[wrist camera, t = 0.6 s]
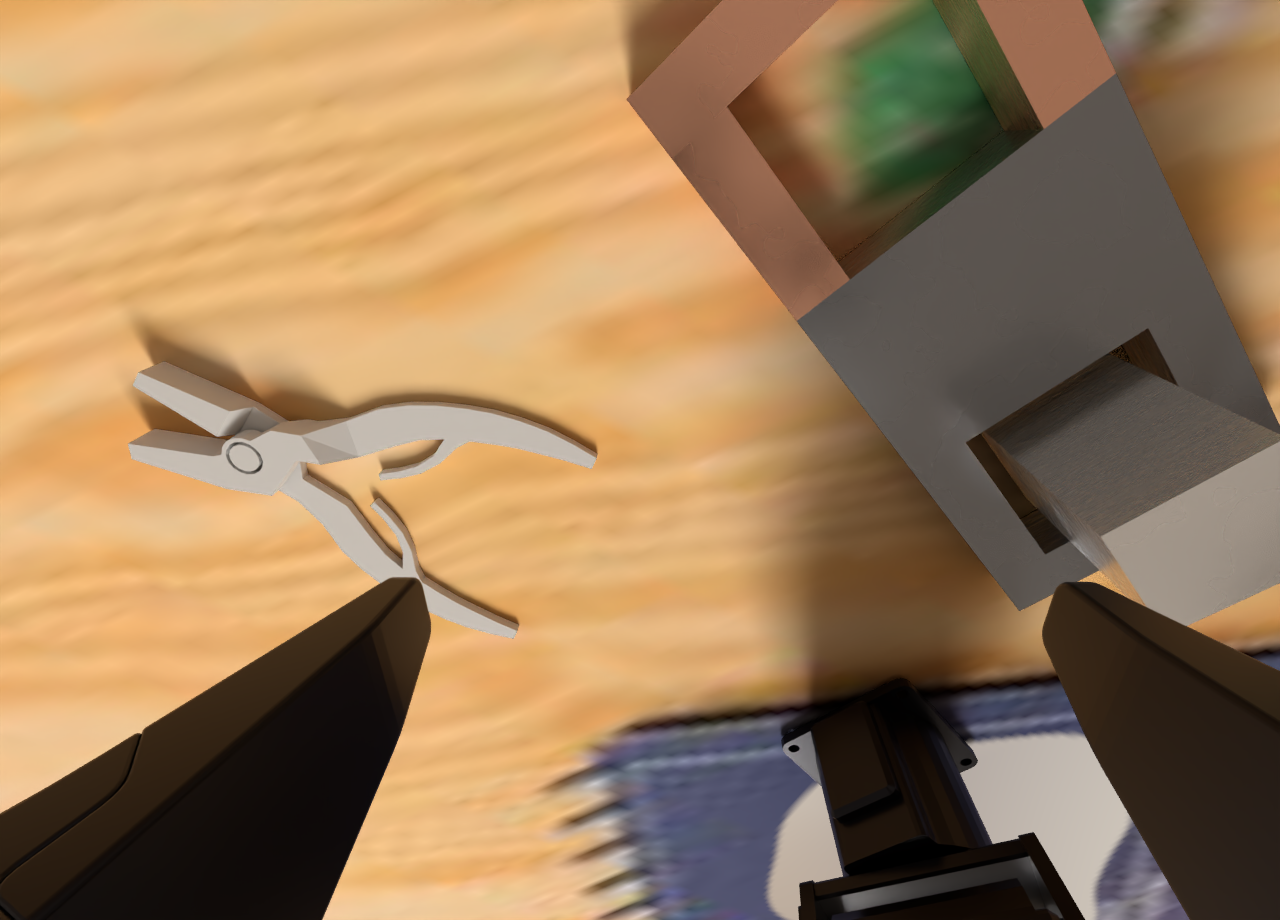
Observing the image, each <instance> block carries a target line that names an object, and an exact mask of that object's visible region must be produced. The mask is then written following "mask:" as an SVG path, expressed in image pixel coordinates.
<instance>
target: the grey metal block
mask: <svg viewBox="0 0 1280 920" xmlns="http://www.w3.org/2000/svg"><path fill="white" fill-rule="evenodd" d="M981 434H982V436H983V437H984V438H985V440H986V441H987V443H988V444H989V446H990V447H991V449H992V450H993V451H994V453H995V454H996V456H997V457H998V459H999V460H1000V461H1001V463H1002V464H1003V466H1004V467H1005V469H1006V470H1007V472H1008V473H1009V474H1010V476H1011V477H1012V479H1013V480H1014V482H1015V483H1016V485H1017V486H1018V487H1019V489H1020V490H1021V492H1022V493H1023V495H1024V496H1025V497H1026V498H1027V499H1028V500H1029V501H1030V502H1031V503H1032V504H1033V505H1034V506H1035V507H1036V508H1037V509H1038V510H1039V511H1040V512H1041V513H1042V514H1043V515H1044V516H1045V517H1046V518H1047V519H1048V520H1049V521H1050V522H1051V523H1052V524H1053V525H1054V526H1055V527H1056V528H1057V529H1058V530H1059V531H1060V532H1061V533H1062V534H1063V535H1064V536H1065V537H1066V538H1067V539H1068V540H1069V541H1070V542H1071V543H1072V544H1073V545H1074V546H1075V547H1076V548H1077V549H1078V550H1079V551H1080V552H1081V553H1082V554H1083V555H1084V556H1086V557H1087V558H1088V559H1089V560H1090V561H1091V562H1092V563H1093V564H1094V565H1095V566H1096V567H1097V568H1098V569H1099V570H1100V571H1101V572H1102V573H1103V574H1104V575H1105V576H1106V577H1107V578H1108V579H1109V580H1110V581H1111V582H1112V583H1113V584H1114V585H1115V586H1116V587H1117V588H1118V589H1119V590H1120V591H1121V592H1122V593H1123V594H1124V595H1125V596H1126V597H1127V598H1129V599H1131V600H1133V601H1135V602H1137V603H1139V604H1141V605H1143V606H1145V607H1148V608H1150V609H1152V610H1154V611H1156V612H1158V613H1160V614H1162V615H1164V616H1166V617H1168V618H1170V619H1173V620H1175V621H1177V622H1179V623H1181V624H1183V625H1185V626H1188V625H1190V624H1192V623H1194V622H1196V621H1199V620H1201V619H1203V618H1205V617H1207V616H1209V615H1212V614H1214V613H1216V612H1218V611H1220V610H1222V609H1225V608H1227V607H1229V606H1231V605H1233V604H1235V603H1238V602H1240V601H1242V600H1244V599H1246V598H1248V597H1251V596H1253V595H1255V594H1257V593H1259V592H1261V591H1264V590H1266V589H1268V588H1270V587H1272V586H1274V585H1277V584H1279V583H1280V434H1278V433H1276V432H1274V431H1271V430H1269V429H1267V428H1265V427H1263V426H1261V425H1259V424H1257V423H1255V422H1252V421H1250V420H1248V419H1246V418H1244V417H1242V416H1240V415H1238V414H1236V413H1233V412H1231V411H1229V410H1227V409H1225V408H1223V407H1221V406H1219V405H1217V404H1215V403H1212V402H1210V401H1208V400H1206V399H1204V398H1202V397H1200V396H1198V395H1196V394H1193V393H1191V392H1189V391H1187V390H1185V389H1183V388H1181V387H1179V386H1177V385H1174V384H1172V383H1170V382H1168V381H1166V380H1164V379H1162V378H1160V377H1158V376H1156V375H1153V374H1151V373H1149V372H1147V371H1145V370H1143V369H1141V368H1139V367H1137V366H1134V365H1132V364H1130V363H1128V362H1126V361H1124V360H1122V359H1120V358H1118V357H1115V356H1113V355H1111V354H1109V353H1108V354H1106V355H1104V356H1103V357H1101V358H1100V359H1098V360H1096V361H1095V362H1093V363H1092V364H1090V365H1088V366H1087V367H1085V368H1084V369H1082V370H1080V371H1079V372H1077V373H1076V374H1074V375H1072V376H1071V377H1069V378H1068V379H1066V380H1065V381H1063V382H1061V383H1060V384H1058V385H1057V386H1055V387H1053V388H1052V389H1050V390H1049V391H1047V392H1045V393H1044V394H1042V395H1041V396H1039V397H1037V398H1036V399H1034V400H1033V401H1031V402H1029V403H1028V404H1026V405H1025V406H1023V407H1022V408H1020V409H1018V410H1017V411H1015V412H1014V413H1012V414H1010V415H1009V416H1007V417H1006V418H1004V419H1002V420H1001V421H999V422H998V423H996V424H994V425H993V426H991V427H990V428H988V429H986V430H985V431H983V432H982V433H981Z"/></svg>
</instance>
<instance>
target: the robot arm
mask: <svg viewBox="0 0 1280 920" xmlns="http://www.w3.org/2000/svg"><path fill="white" fill-rule="evenodd" d="M430 634H431V620H430V615H429V611H428V607H427V602H426V598H425V594H424V589H423V586H422V583H421V582H420V580H419V579H417V578H415V577H392V578H389V579H387V580H385V581H383V582H382V583H380V584H378V585H377V586H375V587H374V588H372V589H370V590H369V591H367V592H365V593H364V594H362V595H361V596H359V597H357V598H356V599H354V600H352V601H351V602H349V603H348V604H346V605H344V606H343V607H341V608H339V609H338V610H336V611H335V612H333V613H331V614H330V615H328V616H326V617H325V618H323V619H322V620H320V621H318V622H317V623H315V624H313V625H312V626H310V627H309V628H307V629H305V630H304V631H302V632H300V633H299V634H297V635H296V636H294V637H292V638H291V639H289V640H287V641H286V642H284V643H283V644H281V645H279V646H278V647H276V648H274V649H273V650H271V651H269V652H268V653H266V654H265V655H263V656H261V657H260V658H258V659H256V660H255V661H253V662H252V663H250V664H248V665H247V666H245V667H243V668H242V669H240V670H239V671H237V672H235V673H234V674H232V675H230V676H229V677H227V678H226V679H224V680H222V681H221V682H219V683H217V684H216V685H214V686H213V687H211V688H209V689H208V690H206V691H204V692H203V693H201V694H200V695H198V696H196V697H195V698H193V699H191V700H190V701H188V702H186V703H185V704H183V705H182V706H180V707H178V708H177V709H175V710H173V711H172V712H170V713H169V714H167V715H165V716H164V717H162V718H160V719H159V720H157V721H156V722H154V723H152V724H151V725H149V726H147V727H146V728H145V729H144V730H143V731H142V734H140V733H136V734H134V735H132V736H131V737H129V738H128V739H126V740H124V741H123V742H121V743H120V744H118V745H116V746H115V747H113V748H112V749H110V750H108V751H107V752H105V753H103V754H102V755H100V756H98V757H97V758H95V759H93V760H92V761H90V762H88V763H87V764H85V765H83V766H82V767H80V768H78V769H77V770H75V771H73V772H72V773H70V774H68V775H67V776H65V777H63V778H62V779H60V780H58V781H57V782H55V783H53V784H52V785H50V786H48V787H47V788H45V789H43V790H41V791H39V792H38V793H36V794H34V795H32V796H31V797H29V798H27V799H25V800H24V801H22V802H20V803H18V804H16V805H15V806H13V807H11V808H9V809H8V810H6V811H4V812H2V813H0V920H322V919H323V917H324V914H325V912H326V910H327V907H328V905H329V903H330V900H331V898H332V895H333V893H334V891H335V888H336V886H337V884H338V881H339V879H340V877H341V874H342V872H343V870H344V867H345V865H346V862H347V860H348V858H349V855H350V853H351V851H352V848H353V846H354V844H355V841H356V839H357V836H358V834H359V832H360V829H361V827H362V825H363V822H364V820H365V818H366V815H367V813H368V810H369V808H370V806H371V803H372V801H373V799H374V796H375V794H376V792H377V789H378V787H379V784H380V782H381V780H382V777H383V775H384V773H385V770H386V768H387V766H388V763H389V761H390V758H391V756H392V754H393V751H394V749H395V746H396V744H397V741H398V739H399V736H400V734H401V731H402V728H403V725H404V722H405V719H406V715H407V712H408V709H409V705H410V702H411V699H412V695H413V692H414V689H415V685H416V682H417V679H418V675H419V672H420V669H421V665H422V662H423V659H424V656H425V652H426V649H427V646H428V642H429V639H430ZM1042 637H1043V642H1044V646H1045V648H1046V651H1047V653H1048V655H1049V657H1050V659H1051V662H1052V664H1053V666H1054V668H1055V670H1056V673H1057V675H1058V677H1059V679H1060V681H1061V684H1062V686H1063V688H1064V690H1065V693H1066V695H1067V697H1068V699H1069V701H1070V704H1071V706H1072V708H1073V710H1074V712H1075V715H1076V717H1077V719H1078V721H1079V723H1080V726H1081V728H1082V730H1083V732H1084V734H1085V736H1086V738H1087V740H1088V742H1089V744H1090V746H1091V748H1092V750H1093V752H1094V754H1095V756H1096V758H1097V759H1098V761H1099V763H1100V765H1101V767H1102V769H1103V770H1104V772H1105V774H1106V776H1107V777H1108V779H1109V781H1110V783H1111V784H1112V786H1113V788H1114V789H1115V791H1116V793H1117V795H1118V796H1119V798H1120V800H1121V801H1122V803H1123V805H1124V807H1125V808H1126V810H1127V812H1128V814H1129V815H1130V817H1131V819H1132V821H1133V822H1134V824H1135V826H1136V827H1137V829H1138V831H1139V833H1140V834H1141V836H1142V838H1143V840H1144V841H1145V843H1146V845H1147V846H1148V848H1149V850H1150V852H1151V853H1152V855H1153V857H1154V859H1155V860H1156V862H1157V864H1158V866H1159V867H1160V869H1161V871H1162V872H1163V874H1164V876H1165V878H1166V879H1167V881H1168V883H1169V885H1170V886H1171V888H1172V890H1173V891H1174V893H1175V895H1176V897H1177V898H1178V900H1179V902H1180V904H1181V905H1182V907H1183V909H1184V910H1185V912H1186V914H1187V916H1188V917H1189V919H1190V920H1280V671H1279V670H1277V669H1275V668H1272V667H1270V666H1268V665H1266V664H1264V663H1262V662H1260V661H1258V660H1256V659H1254V658H1252V657H1250V656H1248V655H1245V654H1243V653H1241V652H1239V651H1237V650H1235V649H1233V648H1231V647H1229V646H1227V645H1225V644H1223V643H1220V642H1218V641H1216V640H1214V639H1212V638H1210V637H1208V636H1206V635H1204V634H1202V633H1200V632H1198V631H1195V630H1193V629H1191V628H1189V627H1187V626H1185V625H1183V624H1181V623H1179V622H1177V621H1175V620H1173V619H1170V618H1168V617H1166V616H1164V615H1162V614H1160V613H1158V612H1156V611H1154V610H1152V609H1150V608H1148V607H1145V606H1143V605H1141V604H1139V603H1137V602H1135V601H1133V600H1131V599H1129V598H1127V597H1125V596H1123V595H1120V594H1118V593H1116V592H1114V591H1112V590H1110V589H1108V588H1106V587H1104V586H1102V585H1100V584H1097V583H1093V582H1064V583H1061V584H1060V585H1059V586H1058V587H1057V588H1056V590H1055V592H1054V595H1053V598H1052V601H1051V604H1050V607H1049V610H1048V613H1047V616H1046V619H1045V622H1044V625H1043V630H1042ZM901 690H902V691H901ZM781 742H782V748H783V751H784V753H785V754H786V755H787V756H788V757H790V758H791V759H792V760H793V761H794V762H795V763H796V764H797V765H798V766H800V767H801V768H802V769H803V770H804V771H805V772H806V773H807V774H808V775H810V776H811V777H812V778H813V779H814V780H815V781H816V782H817V783H818V784H820V785H821V786H822V789H823V794H824V798H825V802H826V806H827V810H828V814H829V819H830V823H831V827H832V831H833V835H834V840H835V844H836V848H837V852H838V856H839V861H840V865H841V868H842V873H843V877H839V878H834V879H830V880H825V881H821V882H816V883H815V882H814V881H813V880H812V881H807V882H803V883H800V885H799V887H800V900H801V906H799V907H798V911H799V920H1085V919H1084V917H1083V915H1082V913H1081V912H1080V910H1079V908H1078V907H1077V905H1076V903H1075V902H1074V900H1073V898H1072V896H1071V895H1070V893H1069V891H1068V890H1067V888H1066V886H1065V885H1064V883H1063V881H1062V879H1061V878H1060V876H1059V875H1058V873H1057V871H1056V869H1055V868H1054V866H1053V864H1052V862H1051V861H1050V859H1049V857H1048V856H1047V854H1046V852H1045V850H1044V849H1043V847H1042V845H1041V844H1040V842H1039V840H1038V839H1037V837H1036V835H1035V833H1034V832H1032V833H1028V834H1023V835H1019V836H1018V837H1019V839H1014V840H1010V841H1006V842H1000V843H996V844H992V841H991V839H990V837H989V835H988V833H987V831H986V828H985V826H984V824H983V822H982V820H981V818H980V816H979V814H978V811H977V809H976V807H975V805H974V803H973V801H972V798H971V796H970V794H969V792H968V790H967V788H966V785H965V783H964V782H963V779H962V777H961V775H960V773H961V772H963V771H965V770H968V769H970V768H972V767H974V766H975V765H976V764H977V761H978V760H977V758H976V756H975V754H974V752H973V750H972V749H971V748H970V747H969V745H968V744H967V743H966V742H965V741H964V740H963V739H962V738H961V737H960V736H959V735H958V734H957V732H956V731H955V730H954V729H953V728H952V727H951V726H950V725H949V724H948V723H947V722H946V721H945V719H944V718H943V717H942V716H941V715H940V714H939V713H938V712H937V711H936V710H935V709H934V707H933V706H932V705H931V704H930V703H929V702H928V701H927V700H926V699H925V698H924V697H923V696H922V694H921V693H920V692H919V691H918V690H917V689H916V688H915V687H914V686H913V685H912V684H911V683H910V682H909V681H908V680H906V679H896V680H893V681H891V682H889V683H887V684H885V685H883V686H881V687H879V688H877V689H875V690H873V691H871V692H869V693H867V694H865V695H864V696H862V697H860V698H858V699H856V700H854V701H852V702H850V703H848V704H846V705H844V706H842V707H840V708H838V709H836V710H834V711H832V712H830V713H828V714H826V715H824V716H822V717H820V718H818V719H816V720H815V721H813V722H811V723H809V724H807V725H805V726H803V727H801V728H799V729H797V730H795V731H793V732H791V733H789V734H787V735H785V736H784V737H783V738H782V740H781Z"/></svg>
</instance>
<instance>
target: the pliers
mask: <svg viewBox="0 0 1280 920" xmlns="http://www.w3.org/2000/svg"><path fill="white" fill-rule="evenodd" d="M133 386H134V387H135V388H137V389H139V390H140V391H142V392H144V393H145V394H147V395H149V396H150V397H152V398H154V399H155V400H157V401H159V402H160V403H162V404H164V405H165V406H167V407H169V408H170V409H172V410H174V411H175V412H177V413H179V414H180V415H182V416H183V417H185V418H187V419H188V420H190V421H192V422H193V423H195V424H197V425H198V426H200V427H202V428H203V429H205V430H207V431H208V432H210V433H212V434H213V435H215V436H229V435H235V436H233V437H232V438H230V439H229V440H226V439H219V438H212V437H206V436H199V435H193V434H186V433H180V432H173V431H167V430H160V429H154V430H152V431H150V432H148V433H146V434H144V435H143V436H141V437H139V438H137V439H135V440H134V441H132V442H130V443H128V446H129V450H130V454H131V458H132V459H133V460H136V461H140V462H143V463H146V464H149V465H152V466H156V467H159V468H162V469H165V470H168V471H172V472H175V473H178V474H181V475H184V476H187V477H191V478H194V479H197V480H200V481H203V482H207V483H210V484H213V485H216V486H219V487H223V488H226V489H230V490H237V491H244V492H250V493H257V494H264V495H271V496H272V495H274V494H275V493H276V492H277V491H278V490H279V491H281V492H283V493H284V494H286V495H288V496H290V497H291V498H293V499H295V500H296V501H298V502H299V503H300V504H301V505H303V506H304V507H305V508H306V509H307V510H308V511H309V512H310V513H311V514H312V515H313V516H314V517H315V518H316V519H317V520H319V521H320V522H321V523H322V524H323V526H324V527H325V528H326V530H327V531H328V532H329V534H330V535H331V536H332V538H333V539H334V541H335V542H336V543H337V545H338V546H339V547H340V549H341V550H342V551H343V552H344V553H345V554H346V555H347V556H348V557H349V558H350V559H351V560H352V561H353V562H354V563H356V564H357V565H358V566H359V567H360V568H361V569H362V570H363V571H365V572H366V573H367V574H369V575H370V576H371V577H373V578H374V579H375V580H377V581H378V582H379V583H382V582H383V581H385V580H387V579H389V578H392V577H415V578H417V579H419V580H420V582H421V583H422V586H423V589H424V594H425V598H426V602H427V607H428V611H429V612H430V613H433V614H435V615H437V616H439V617H442V618H444V619H446V620H449V621H451V622H454V623H457V624H460V625H462V626H465V627H468V628H471V629H475V630H479V631H482V632H486V633H490V634H494V635H499V636H503V637H508V638H512V639H514V637H515V635H516V633H517V630H518V627H519V625H518V624H516V623H514V622H511V621H509V620H507V619H504V618H502V617H500V616H497V615H495V614H493V613H491V612H489V611H487V610H485V609H483V608H481V607H479V606H477V605H474V604H472V603H470V602H468V601H466V600H464V599H462V598H460V597H459V596H457V595H455V594H453V593H452V592H450V591H448V590H447V589H445V588H443V587H442V586H440V585H438V584H437V583H435V582H433V581H432V580H430V579H429V578H427V577H425V575H424V573H423V572H422V570H421V568H420V566H419V562H418V558H417V553H416V548H415V545H414V543H413V541H412V539H411V537H410V534H409V532H408V530H407V528H406V527H405V526H404V524H403V523H402V522H401V521H400V519H399V518H398V517H397V516H396V515H395V513H394V512H393V511H392V510H391V509H390V508H389V507H388V506H387V505H386V504H385V503H384V502H383V501H382V500H381V499H380V498H379V497H378V498H377V499H376V500H375V501H374V502H373V503H372V504H371V505H370V506H371V507H372V508H373V509H374V510H375V511H376V512H377V513H378V514H379V515H380V516H381V517H382V518H383V519H384V520H385V522H386V523H387V524H388V526H389V527H390V528H391V529H392V531H393V532H394V533H395V535H396V537H397V539H398V541H399V544H400V546H401V548H402V551H403V560H402V559H401V558H399V557H398V556H397V555H396V554H395V553H393V552H392V551H391V550H390V549H389V548H388V547H387V546H386V545H385V543H384V542H383V541H382V540H381V539H380V537H379V536H378V535H377V534H376V533H375V531H374V530H373V529H372V528H371V526H370V525H369V524H368V522H367V521H366V520H365V518H364V517H363V516H362V514H361V513H360V512H359V510H358V509H357V508H356V506H355V505H354V504H353V502H352V501H351V500H349V499H347V498H346V497H344V496H342V495H341V494H339V493H337V492H336V491H334V490H333V489H331V488H329V487H328V486H326V485H324V484H323V483H321V482H320V481H318V480H316V479H315V478H313V477H311V476H310V475H308V471H307V465H306V462H307V463H314V464H320V465H321V464H326V463H331V462H337V461H342V460H347V459H352V458H358V457H361V456H365V455H368V454H371V453H374V452H378V451H381V450H384V449H387V448H391V447H394V446H398V445H402V444H406V443H410V442H414V441H418V440H441V439H444V441H443V442H442V444H441V445H440V447H439V448H438V450H437V451H436V452H435V453H434V454H432V455H431V456H429V457H428V458H426V459H424V460H423V461H421V462H419V463H415V464H411V465H408V466H404V467H399V468H391V469H383V470H382V471H381V472H380V473H379V477H380V480H388V479H397V478H404V477H408V476H412V475H417V474H421V473H423V472H425V471H427V470H428V469H430V468H432V467H434V466H436V465H438V464H440V463H441V462H442V461H443V460H444V459H445V458H446V457H447V456H448V455H450V454H451V453H452V452H453V451H454V450H455V449H456V448H458V447H460V446H462V445H464V444H466V443H467V442H469V441H471V442H478V443H486V444H493V445H500V446H506V447H512V448H518V449H522V450H526V451H530V452H534V453H538V454H542V455H545V456H549V457H553V458H557V459H561V460H564V461H568V462H571V463H574V464H577V465H580V466H584V467H587V468H590V469H592V467H593V465H594V463H595V461H596V458H597V453H595V452H593V451H592V450H590V449H588V448H587V447H585V446H583V445H582V444H580V443H578V442H576V441H575V440H573V439H571V438H569V437H567V436H565V435H563V434H561V433H559V432H557V431H555V430H553V429H551V428H549V427H547V426H544V425H541V424H539V423H536V422H533V421H531V420H528V419H525V418H523V417H519V416H516V415H512V414H509V413H505V412H502V411H498V410H495V409H489V408H483V407H478V406H472V405H465V404H456V403H446V402H404V403H396V404H389V405H382V406H380V407H377V408H374V409H372V410H369V411H366V412H363V413H361V414H358V415H355V416H353V417H349V418H340V419H332V420H324V421H316V420H310V419H304V420H296V421H288V420H286V419H285V418H283V417H281V416H280V415H278V414H277V413H275V412H273V411H272V410H270V409H269V408H267V407H266V406H264V405H262V404H261V403H259V402H257V401H254V400H252V399H250V398H247V397H245V396H243V395H241V394H238V393H236V392H234V391H231V390H229V389H227V388H225V387H222V386H220V385H218V384H215V383H213V382H211V381H208V380H206V379H204V378H202V377H199V376H197V375H195V374H192V373H190V372H188V371H186V370H183V369H181V368H179V367H176V366H174V365H172V364H169V363H167V362H165V361H164V362H161V363H159V364H157V365H154V366H152V367H150V368H147V369H145V370H143V371H140V372H138V374H137V377H136V379H135V381H134V384H133Z"/></svg>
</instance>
